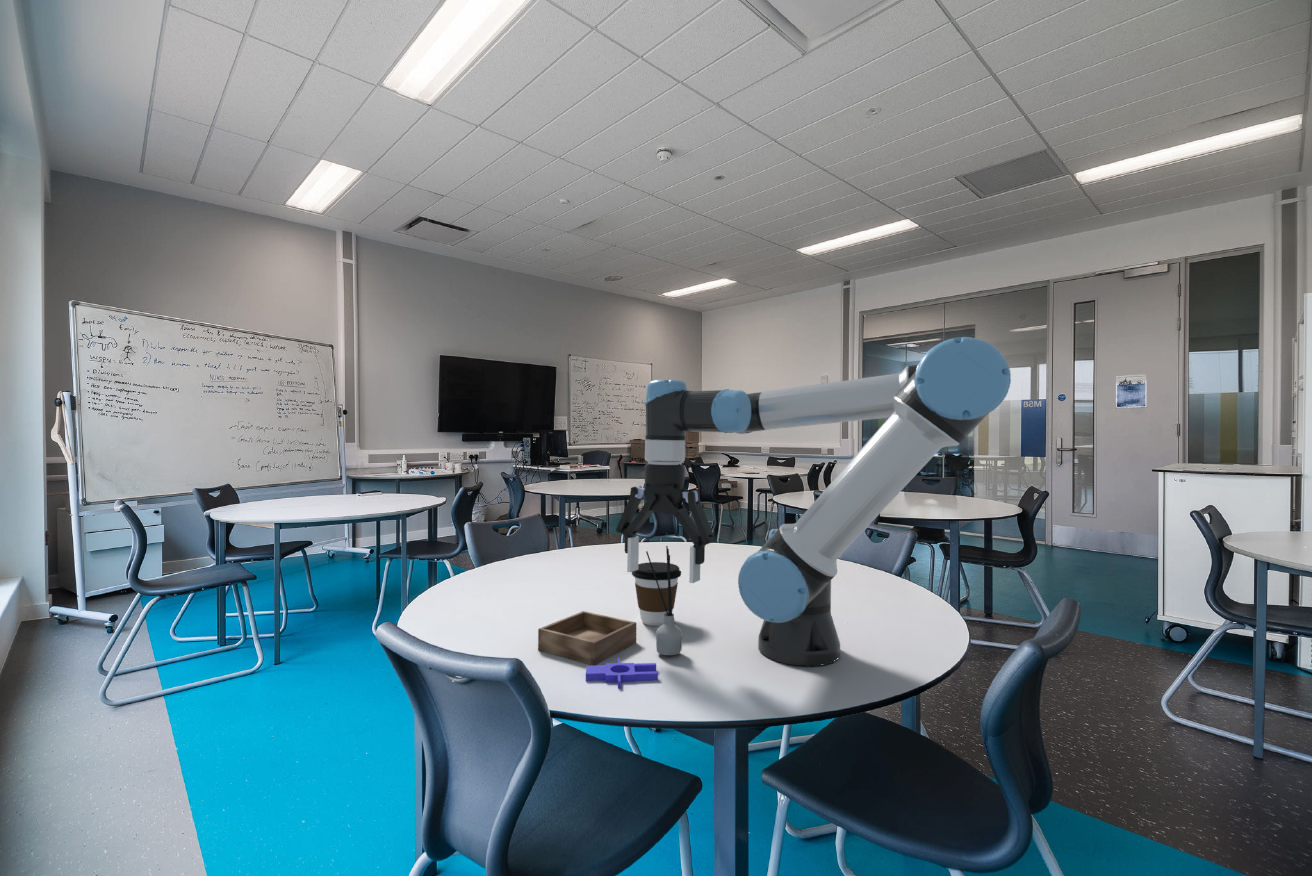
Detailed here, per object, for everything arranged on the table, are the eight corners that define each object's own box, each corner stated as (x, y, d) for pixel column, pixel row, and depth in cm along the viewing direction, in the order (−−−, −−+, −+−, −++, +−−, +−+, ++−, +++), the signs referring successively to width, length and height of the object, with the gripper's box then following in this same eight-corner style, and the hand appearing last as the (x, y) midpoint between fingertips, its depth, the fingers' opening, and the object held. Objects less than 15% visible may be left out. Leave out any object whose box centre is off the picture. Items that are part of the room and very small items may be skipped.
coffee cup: (672, 632, 119) (673, 574, 119) (623, 626, 123) (624, 570, 123) (686, 616, 130) (687, 563, 130) (641, 611, 133) (641, 560, 133)
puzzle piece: (659, 690, 93) (659, 680, 93) (584, 692, 92) (584, 682, 92) (654, 666, 103) (654, 656, 103) (587, 667, 102) (587, 658, 102)
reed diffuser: (683, 664, 103) (684, 552, 103) (645, 664, 102) (646, 552, 102) (680, 643, 113) (680, 542, 113) (645, 643, 113) (645, 541, 113)
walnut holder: (636, 642, 113) (636, 622, 113) (594, 665, 102) (594, 642, 102) (583, 630, 120) (583, 611, 120) (538, 650, 109) (538, 629, 109)
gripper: (734, 465, 104) (732, 581, 104) (622, 459, 117) (620, 563, 117) (716, 466, 98) (713, 591, 98) (599, 460, 111) (597, 570, 111)
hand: (662, 576), depth 108 cm, fingers open, 13 cm apart
